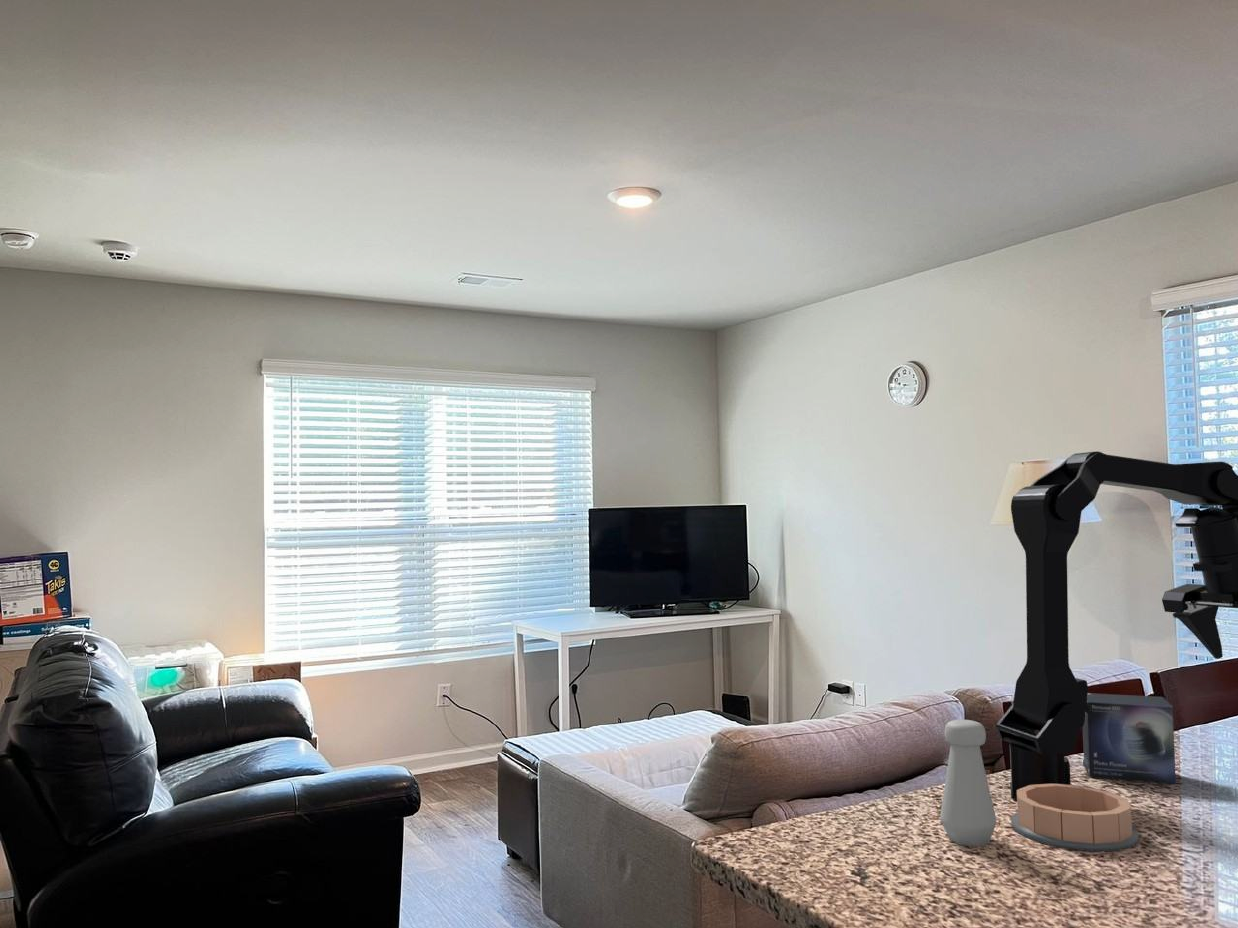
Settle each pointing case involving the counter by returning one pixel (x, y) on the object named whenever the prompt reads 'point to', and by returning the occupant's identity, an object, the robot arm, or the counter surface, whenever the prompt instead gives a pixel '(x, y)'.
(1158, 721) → the small box
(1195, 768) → the counter surface
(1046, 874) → the counter surface
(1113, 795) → the socket
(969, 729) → the salt shaker
